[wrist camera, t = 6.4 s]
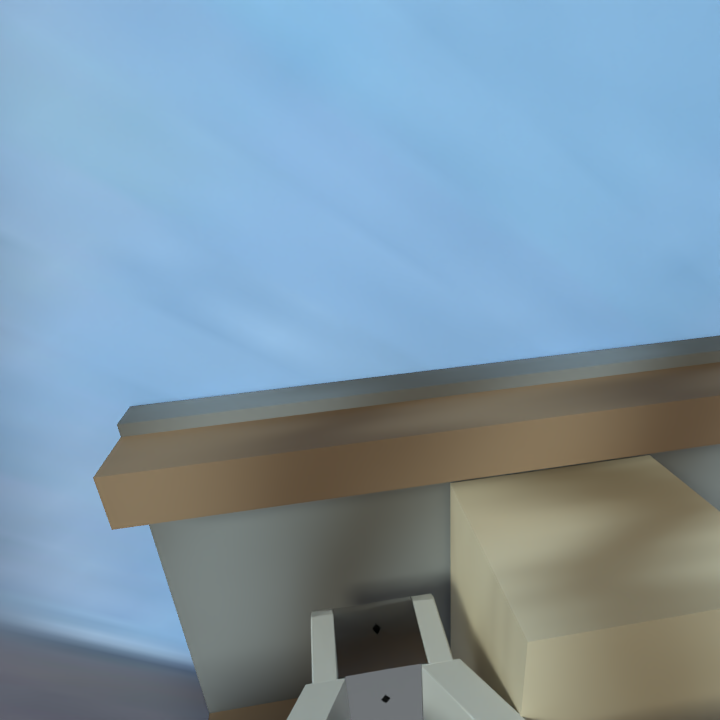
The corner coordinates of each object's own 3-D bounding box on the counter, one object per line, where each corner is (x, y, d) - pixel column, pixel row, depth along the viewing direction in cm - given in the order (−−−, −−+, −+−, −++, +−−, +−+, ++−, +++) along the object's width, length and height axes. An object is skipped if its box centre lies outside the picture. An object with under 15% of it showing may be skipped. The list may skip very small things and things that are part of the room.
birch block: (649, 454, 11) (819, 591, 8) (616, 626, 14) (733, 795, 10) (450, 482, 11) (527, 642, 7) (450, 655, 13) (509, 843, 9)
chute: (1063, 294, 12) (1215, 318, 10) (906, 595, 16) (991, 654, 14) (129, 406, 10) (88, 464, 8) (223, 715, 14) (211, 804, 12)
